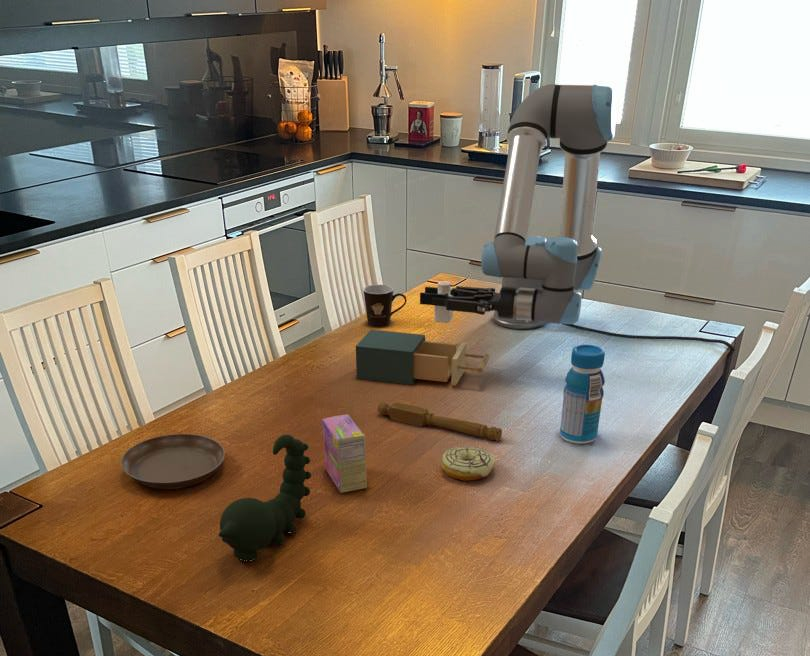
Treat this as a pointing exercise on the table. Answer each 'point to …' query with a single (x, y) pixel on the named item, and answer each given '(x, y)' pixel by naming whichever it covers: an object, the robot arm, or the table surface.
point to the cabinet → (387, 356)
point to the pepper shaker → (440, 311)
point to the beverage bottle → (583, 395)
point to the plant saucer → (173, 460)
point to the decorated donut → (467, 463)
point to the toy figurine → (268, 507)
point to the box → (345, 453)
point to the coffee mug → (380, 304)
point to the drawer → (443, 361)
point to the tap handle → (436, 420)
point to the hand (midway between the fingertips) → (423, 295)
